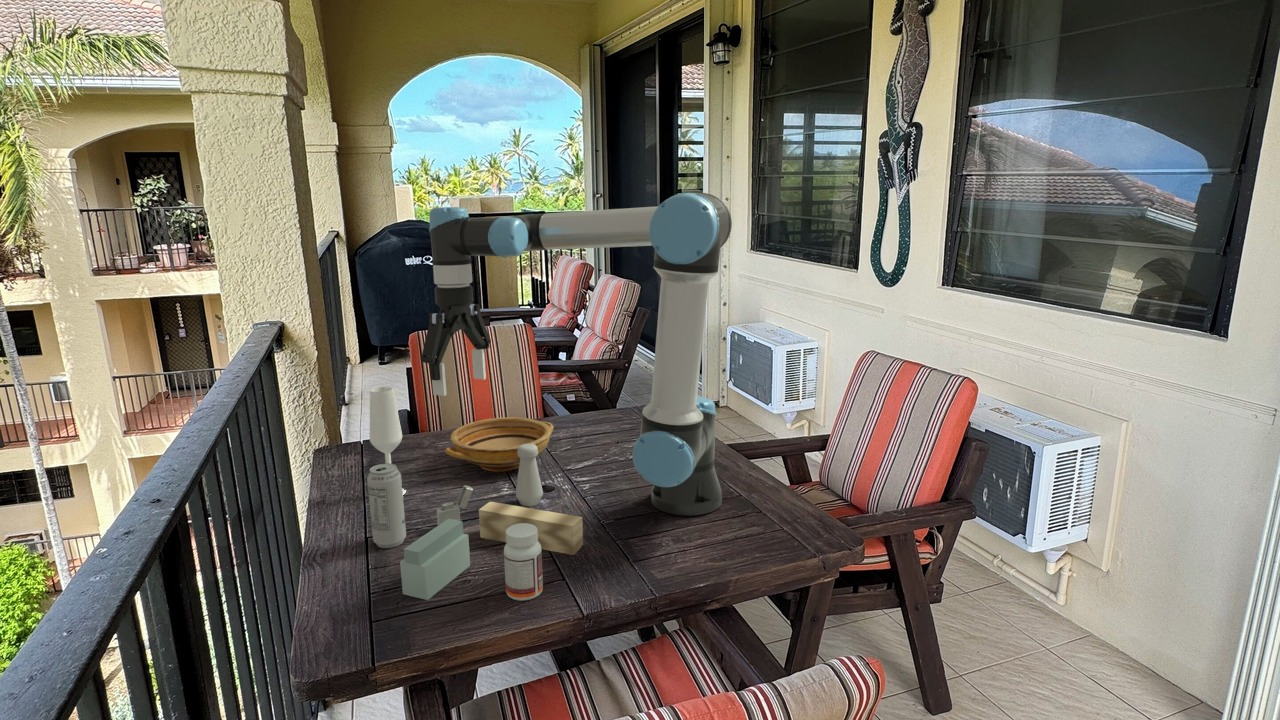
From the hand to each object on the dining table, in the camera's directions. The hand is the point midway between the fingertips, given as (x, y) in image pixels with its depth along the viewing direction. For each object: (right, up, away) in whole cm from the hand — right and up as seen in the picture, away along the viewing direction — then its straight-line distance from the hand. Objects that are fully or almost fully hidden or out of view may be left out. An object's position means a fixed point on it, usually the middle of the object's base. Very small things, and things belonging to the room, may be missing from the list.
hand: (460, 386), depth 151 cm
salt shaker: (+14, -25, +4) cm, 29 cm away
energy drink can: (-10, -29, -13) cm, 34 cm away
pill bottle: (+18, -33, -30) cm, 48 cm away
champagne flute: (-18, -24, +9) cm, 31 cm away
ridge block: (+3, -32, -26) cm, 42 cm away
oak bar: (+17, -29, -13) cm, 36 cm away
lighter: (+1, -28, -7) cm, 29 cm away
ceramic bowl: (+4, -20, +27) cm, 34 cm away
